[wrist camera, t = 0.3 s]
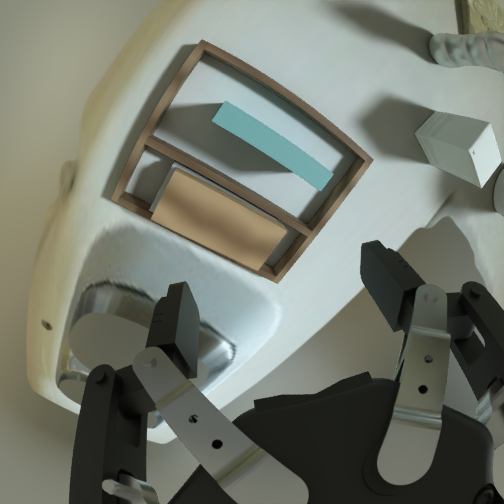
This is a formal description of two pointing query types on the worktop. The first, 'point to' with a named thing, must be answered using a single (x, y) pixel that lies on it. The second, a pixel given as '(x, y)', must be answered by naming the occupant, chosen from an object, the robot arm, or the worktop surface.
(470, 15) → the decorative tile
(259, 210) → the grey flat panel
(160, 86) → the worktop surface
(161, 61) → the worktop surface
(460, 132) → the supplement box
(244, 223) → the oak offcut top
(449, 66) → the plastic bottle
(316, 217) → the tray
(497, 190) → the cylinder vase
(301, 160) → the teal block
